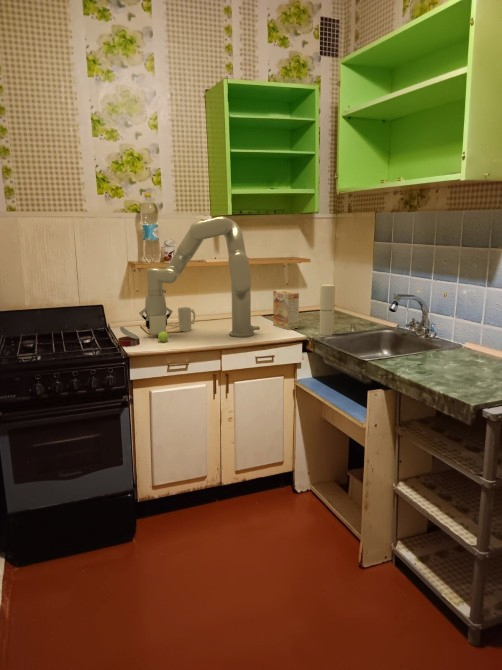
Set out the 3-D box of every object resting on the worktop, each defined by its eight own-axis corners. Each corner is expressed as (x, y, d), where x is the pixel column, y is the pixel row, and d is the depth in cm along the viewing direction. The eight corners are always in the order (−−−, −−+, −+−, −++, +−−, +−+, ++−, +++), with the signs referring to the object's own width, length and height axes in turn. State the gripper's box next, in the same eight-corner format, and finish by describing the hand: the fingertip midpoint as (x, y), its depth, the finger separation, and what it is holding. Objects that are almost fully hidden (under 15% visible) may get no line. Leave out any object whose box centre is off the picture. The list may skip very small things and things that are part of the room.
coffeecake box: (272, 325, 283) (272, 290, 279) (283, 323, 287) (283, 289, 282) (287, 330, 271) (288, 293, 266) (298, 328, 274) (299, 292, 270)
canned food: (127, 351, 248) (132, 331, 250) (142, 352, 242) (147, 332, 244) (109, 344, 239) (115, 324, 242) (124, 345, 233) (129, 324, 236)
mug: (183, 332, 266) (182, 309, 264) (176, 330, 271) (175, 308, 269) (199, 329, 273) (198, 307, 270) (192, 327, 278) (191, 306, 275)
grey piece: (162, 329, 263) (161, 313, 261) (166, 332, 256) (165, 315, 254) (147, 331, 260) (146, 314, 258) (150, 334, 253) (149, 316, 251)
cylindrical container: (316, 333, 263) (317, 284, 257) (328, 332, 265) (330, 283, 260) (323, 336, 256) (325, 286, 251) (336, 334, 259) (337, 285, 253)
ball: (167, 340, 250) (166, 330, 249) (169, 342, 245) (169, 332, 244) (157, 341, 248) (156, 331, 247) (159, 343, 243) (159, 333, 242)
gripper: (170, 291, 260) (171, 325, 264) (136, 292, 253) (137, 327, 257) (174, 293, 253) (175, 327, 257) (139, 294, 247) (140, 330, 251)
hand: (156, 327), depth 257 cm, fingers closed on grey piece, 7 cm apart
